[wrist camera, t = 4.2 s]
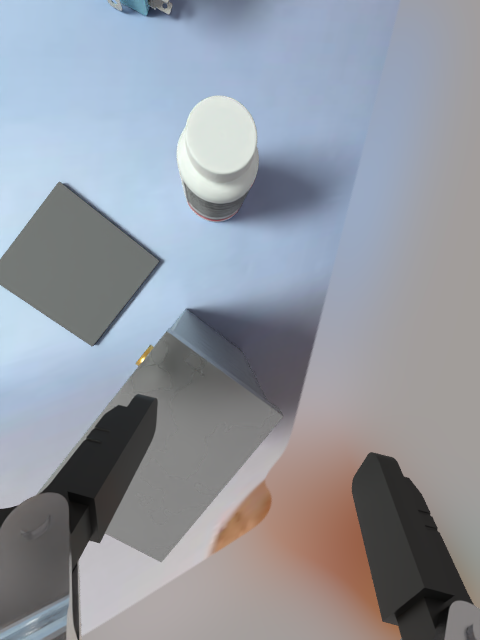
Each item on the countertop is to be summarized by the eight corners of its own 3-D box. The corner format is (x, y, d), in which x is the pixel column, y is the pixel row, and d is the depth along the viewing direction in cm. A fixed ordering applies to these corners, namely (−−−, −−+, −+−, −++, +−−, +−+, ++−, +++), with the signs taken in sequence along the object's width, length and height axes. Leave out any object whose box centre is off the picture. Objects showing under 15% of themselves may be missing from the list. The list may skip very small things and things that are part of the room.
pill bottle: (252, 209, 25) (284, 166, 15) (200, 232, 24) (197, 203, 15) (229, 150, 24) (246, 63, 14) (173, 173, 23) (152, 100, 14)
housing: (115, 388, 26) (30, 495, 13) (183, 302, 25) (163, 328, 13) (181, 430, 27) (162, 562, 15) (246, 351, 27) (284, 417, 14)
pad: (-9, 276, 23) (-13, 276, 22) (61, 183, 22) (59, 181, 22) (93, 345, 25) (92, 346, 24) (160, 261, 24) (159, 260, 24)
